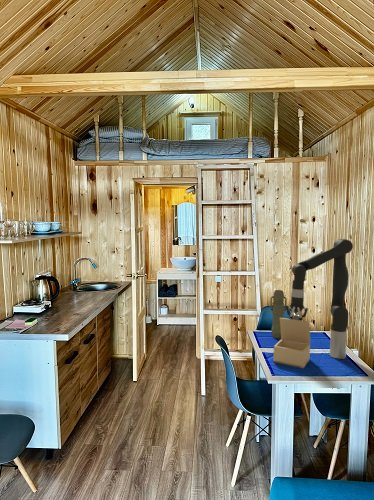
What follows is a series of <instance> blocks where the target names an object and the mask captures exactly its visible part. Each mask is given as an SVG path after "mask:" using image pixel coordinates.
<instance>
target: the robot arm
mask: <svg viewBox="0 0 374 500" xmlns="http://www.w3.org/2000/svg"><path fill="white" fill-rule="evenodd" d="M353 248H354V245H353V243H352V241H350V240H349V239H345V238H337V239H336V240H335V241H334V242H333V247H332V248H329V249H328V250H324V251H322V252H320V253H319V252H318V253H317V254H314V255H312V256H311V257H308V258H307V259H305V260H302V261H300V262H298V263H296V264H294V265H293V266H292V268H291V271H292V274H294V279H292V282H291V283H292V284H291V285H292V286H291V287H292V288H291V294H290V295H291V296H290V297H291V298H290V301H291V302H290V305H288V304H287V306H286V314H287V315H288V316H290V318H289V319H293V316H294V314H295V313H298V316H299V317H300V320H301V321H303V318H306V316H307V313H308V311H309V307H305V306H304V300H305V297H304V295H305V289H304V288H305V287H304V286H305V279H306V277H307V271H309V270H314V269H316V268H317V267H319V266H321V265H323V264H325V263H326V262H329V261H331V260H333V266H332V270H333V271H332V272H333V273H332V295H331V303H330V314H331V316H332V323H331V325H330V344H329V345H330V346H329V356H330V357H332V358H334V359H339V360H340V359H343V360H345V359H346V357H347V330H348V325H349V311H348V310H349V309H348V308H346V307H345V295H346V292H347V289H348V286H349V277H350V276H349V271H348V267H347V262H346V255H347V254H349V253H351V251H352V250H353ZM290 309H291V310H290ZM303 311H304V312H303Z"/></svg>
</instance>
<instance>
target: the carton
mask: <svg viewBox="0 0 374 500" xmlns="http://www.w3.org/2000/svg"><path fill="white" fill-rule="evenodd" d="M310 352H311V343H310V344H307V343H301V342H296V341H290V340H284V339H281V338H280V339H279V341H278V342H277V343H275V345H274V346H273V363H276V364H281V365H285V366H291V367H295V368H300V369H304V368H305V367H306V365H307V364H308V363H309V362H310V357H311V356H310V355H311V353H310Z"/></svg>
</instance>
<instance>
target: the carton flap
mask: <svg viewBox="0 0 374 500" xmlns="http://www.w3.org/2000/svg"><path fill="white" fill-rule="evenodd" d="M280 328H281V338H280V340H281V339H283V340H289V341H295V342H301V343H307V344H310V345H311V329H310V328H311V327H310V321H308V320H302V321H301V320H300V315H299V314H298V315H297V314H296V315H294V314H293V319H290V318H287V317H283V318H280Z"/></svg>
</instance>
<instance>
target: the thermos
mask: <svg viewBox="0 0 374 500" xmlns="http://www.w3.org/2000/svg"><path fill="white" fill-rule="evenodd" d="M269 299H270V300H269V301H270V303H269V307H270V308H269V309H270V311H271V314H272V326H271V337H272V338H274V339H281V328H280V318H285V317H284V315H285V312H287V310H286V306H287V305H288V302H287V301H288V298H287V297H286V296H285V293H284V291H283V290H281V289H276V290H274V292H273V295H272V296H271V297H270V298H269Z"/></svg>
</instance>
